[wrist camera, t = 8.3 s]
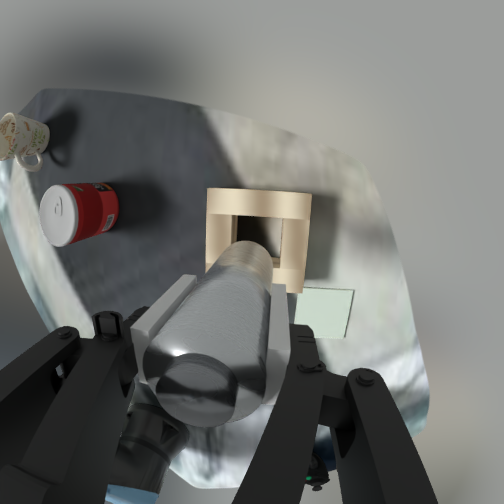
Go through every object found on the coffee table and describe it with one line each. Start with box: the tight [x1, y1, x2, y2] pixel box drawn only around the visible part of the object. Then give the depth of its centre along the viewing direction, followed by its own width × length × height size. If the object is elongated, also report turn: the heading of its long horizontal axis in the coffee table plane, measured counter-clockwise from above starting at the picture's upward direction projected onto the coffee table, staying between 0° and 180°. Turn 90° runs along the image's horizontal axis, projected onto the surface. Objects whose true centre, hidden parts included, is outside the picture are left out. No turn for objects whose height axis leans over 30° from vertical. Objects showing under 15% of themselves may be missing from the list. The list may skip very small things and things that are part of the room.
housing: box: [206, 188, 312, 293], centre depth 34 cm, size 12×12×5 cm
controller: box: [305, 452, 330, 491], centre depth 42 cm, size 4×12×10 cm, turn 55°
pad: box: [294, 287, 353, 339], centre depth 38 cm, size 8×8×1 cm
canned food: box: [40, 183, 119, 247], centre depth 33 cm, size 8×8×11 cm
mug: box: [0, 113, 50, 172], centre depth 31 cm, size 8×13×10 cm, turn 36°
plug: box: [143, 241, 273, 427], centre depth 15 cm, size 4×4×15 cm
